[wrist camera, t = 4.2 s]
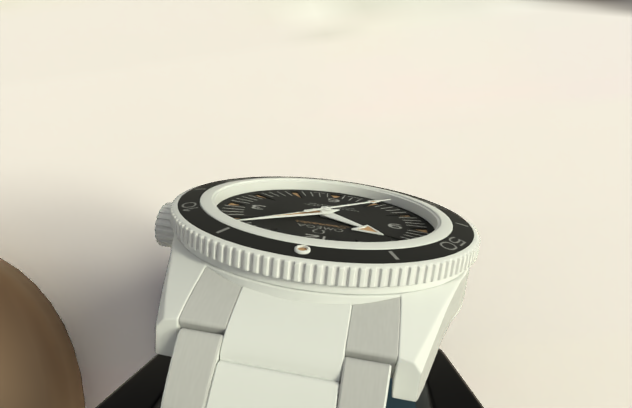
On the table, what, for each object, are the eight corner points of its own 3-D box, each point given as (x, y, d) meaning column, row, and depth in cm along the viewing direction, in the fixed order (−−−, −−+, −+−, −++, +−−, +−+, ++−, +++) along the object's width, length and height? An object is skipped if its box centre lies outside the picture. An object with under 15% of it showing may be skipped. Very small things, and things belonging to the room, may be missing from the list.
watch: (425, 253, 16) (561, 91, 5) (399, 516, 14) (537, 1089, 3) (269, 231, 17) (117, 47, 6) (220, 477, 15) (-138, 848, 4)
